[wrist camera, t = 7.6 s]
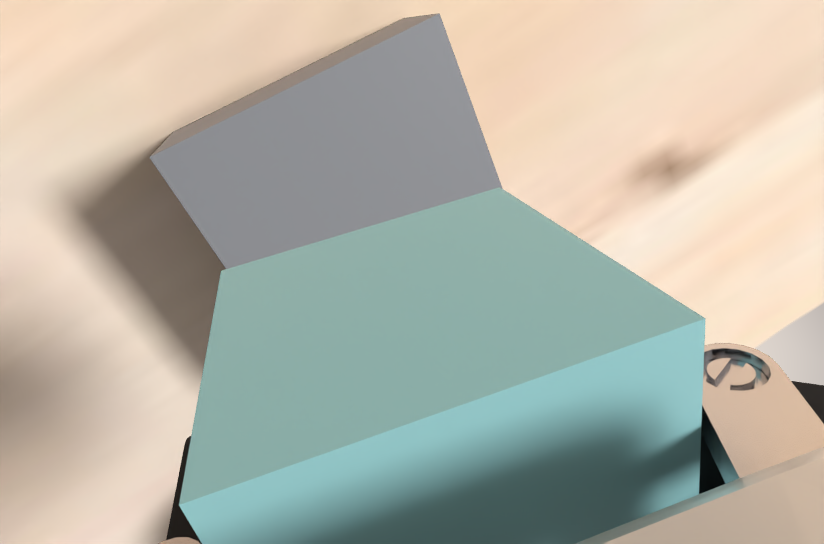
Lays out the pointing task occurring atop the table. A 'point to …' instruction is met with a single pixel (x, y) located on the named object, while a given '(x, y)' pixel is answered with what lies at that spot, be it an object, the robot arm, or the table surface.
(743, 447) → the robot arm
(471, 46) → the table surface
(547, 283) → the teal cube
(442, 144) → the gray block
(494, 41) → the table surface
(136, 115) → the table surface
